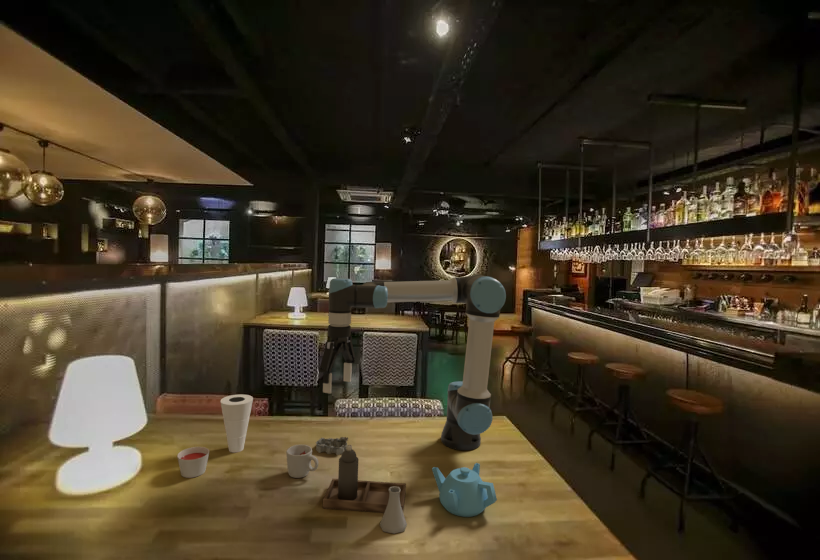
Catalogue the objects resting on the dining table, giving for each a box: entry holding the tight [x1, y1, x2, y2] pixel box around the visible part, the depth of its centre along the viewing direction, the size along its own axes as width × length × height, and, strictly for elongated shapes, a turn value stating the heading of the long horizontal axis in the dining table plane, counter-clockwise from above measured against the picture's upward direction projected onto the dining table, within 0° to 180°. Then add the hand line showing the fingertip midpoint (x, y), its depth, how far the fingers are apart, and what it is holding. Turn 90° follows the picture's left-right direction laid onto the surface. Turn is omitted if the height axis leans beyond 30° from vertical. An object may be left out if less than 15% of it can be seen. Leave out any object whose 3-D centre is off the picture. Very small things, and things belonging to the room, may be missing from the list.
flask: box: [379, 486, 408, 534], centre depth 116 cm, size 7×7×10 cm
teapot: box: [431, 462, 498, 518], centre depth 126 cm, size 15×15×11 cm
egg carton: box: [315, 436, 349, 456], centre depth 158 cm, size 11×8×4 cm
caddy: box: [322, 478, 407, 514], centre depth 127 cm, size 22×12×2 cm, turn 87°
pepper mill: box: [337, 444, 359, 501], centre depth 127 cm, size 6×6×15 cm
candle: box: [177, 446, 210, 479], centre depth 138 cm, size 9×9×6 cm
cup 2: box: [220, 394, 254, 453], centre depth 154 cm, size 11×11×18 cm
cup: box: [285, 444, 319, 479], centre depth 139 cm, size 11×8×8 cm
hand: (337, 386), depth 148 cm, fingers open, 13 cm apart
